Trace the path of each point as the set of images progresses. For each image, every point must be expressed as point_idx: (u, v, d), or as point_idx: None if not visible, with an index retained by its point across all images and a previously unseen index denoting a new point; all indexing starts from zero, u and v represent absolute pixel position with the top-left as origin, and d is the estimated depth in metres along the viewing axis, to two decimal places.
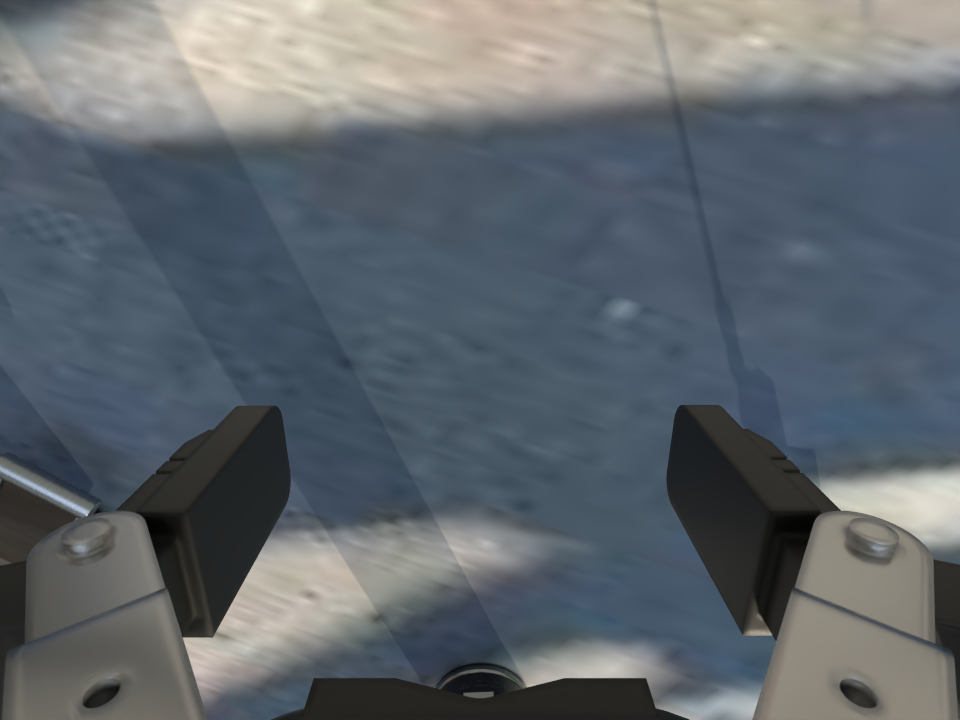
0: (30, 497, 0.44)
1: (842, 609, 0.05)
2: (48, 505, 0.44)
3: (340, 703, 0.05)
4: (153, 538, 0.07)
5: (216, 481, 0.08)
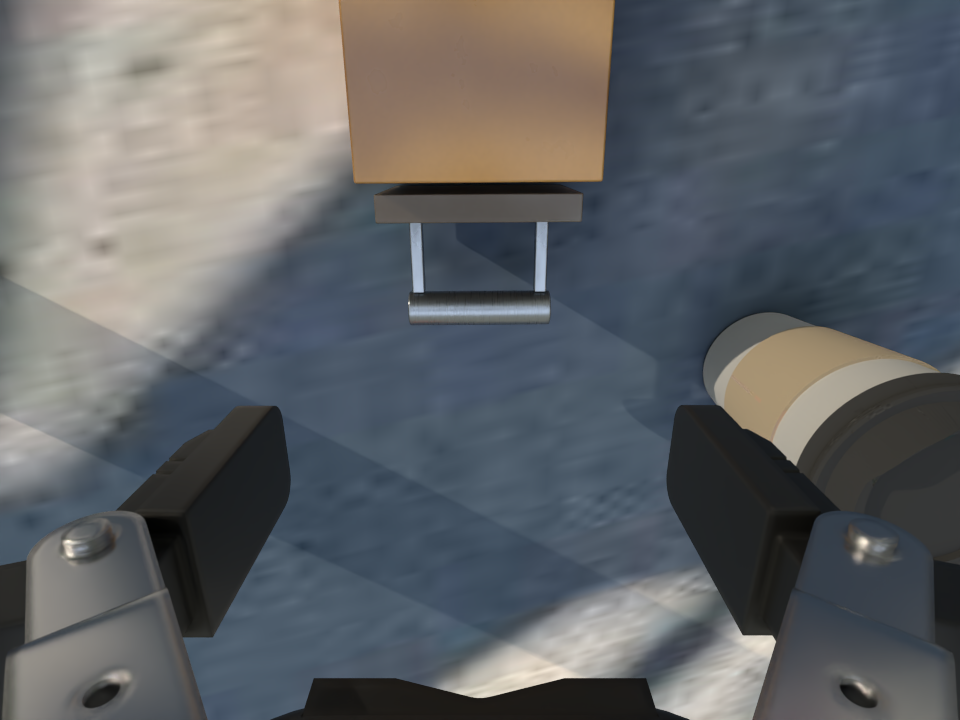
0: None
1: (842, 609, 0.05)
2: None
3: (339, 704, 0.05)
4: (153, 538, 0.07)
5: (216, 481, 0.08)
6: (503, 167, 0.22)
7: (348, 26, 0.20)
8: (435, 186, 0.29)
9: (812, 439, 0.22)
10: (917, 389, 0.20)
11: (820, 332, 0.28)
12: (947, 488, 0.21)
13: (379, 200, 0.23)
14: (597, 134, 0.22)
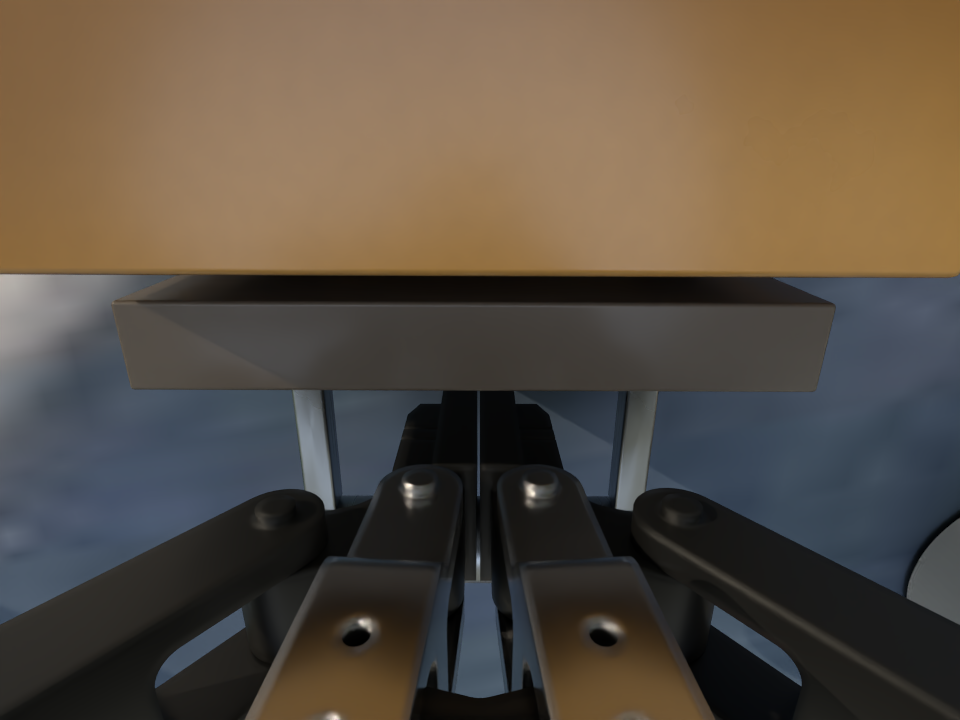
0: None
1: (559, 563, 0.06)
2: None
3: None
4: None
5: (476, 443, 0.09)
6: (576, 222, 0.05)
7: None
8: None
9: None
10: None
11: None
12: None
13: (131, 319, 0.07)
14: None
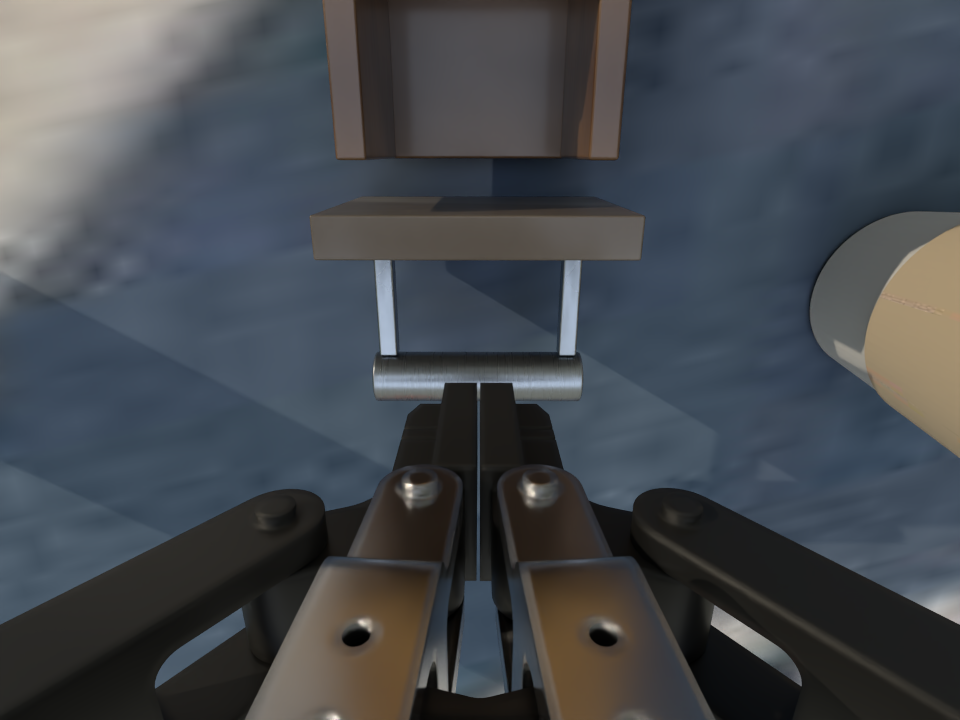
0: None
1: (559, 563, 0.06)
2: None
3: None
4: None
5: (476, 443, 0.09)
6: None
7: None
8: (416, 198, 0.20)
9: None
10: None
11: None
12: None
13: (318, 224, 0.15)
14: None
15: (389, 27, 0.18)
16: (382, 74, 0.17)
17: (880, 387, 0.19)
